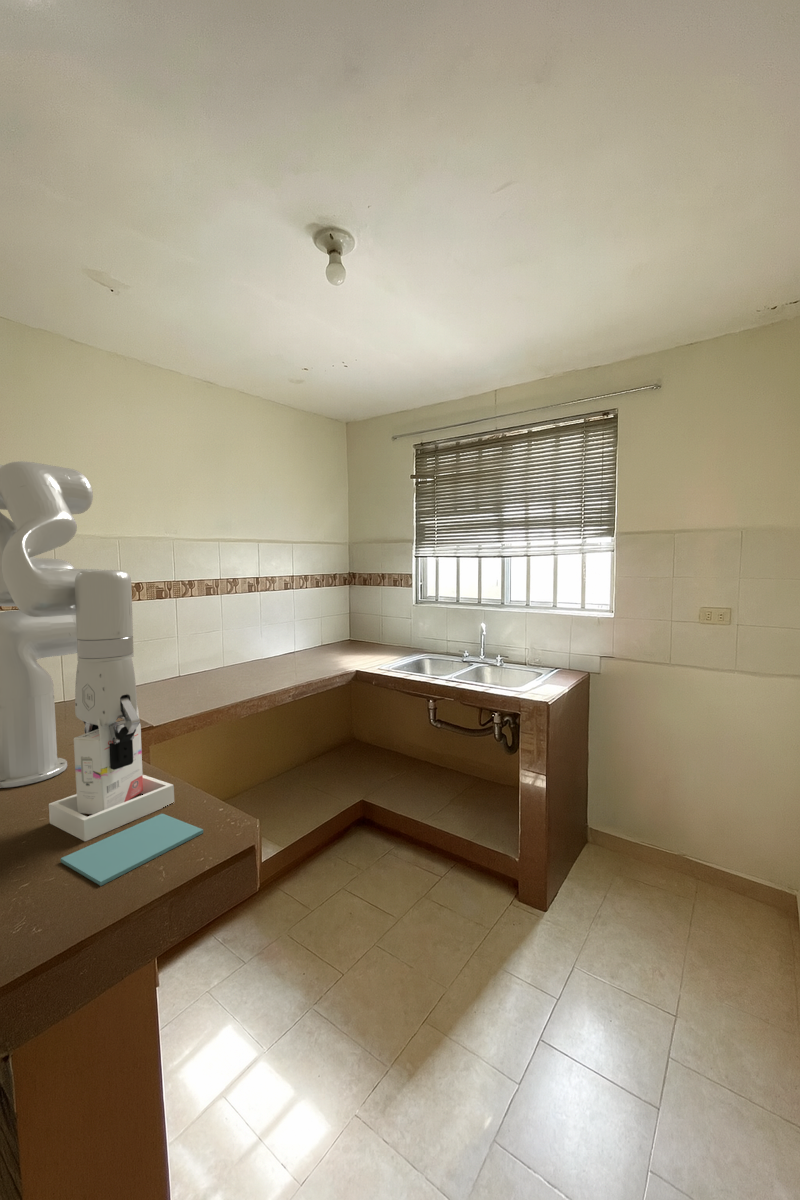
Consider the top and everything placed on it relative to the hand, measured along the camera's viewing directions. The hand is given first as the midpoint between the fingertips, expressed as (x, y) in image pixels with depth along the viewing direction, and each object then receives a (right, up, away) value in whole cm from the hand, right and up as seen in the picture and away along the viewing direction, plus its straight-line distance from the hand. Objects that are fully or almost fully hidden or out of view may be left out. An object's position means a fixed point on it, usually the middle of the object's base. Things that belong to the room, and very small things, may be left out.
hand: (109, 760), depth 77 cm
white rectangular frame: (+1, -8, 0) cm, 8 cm away
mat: (+10, -8, -10) cm, 16 cm away
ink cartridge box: (0, -7, 0) cm, 7 cm away
